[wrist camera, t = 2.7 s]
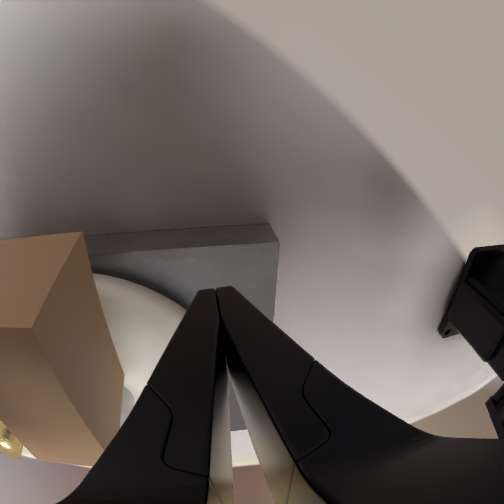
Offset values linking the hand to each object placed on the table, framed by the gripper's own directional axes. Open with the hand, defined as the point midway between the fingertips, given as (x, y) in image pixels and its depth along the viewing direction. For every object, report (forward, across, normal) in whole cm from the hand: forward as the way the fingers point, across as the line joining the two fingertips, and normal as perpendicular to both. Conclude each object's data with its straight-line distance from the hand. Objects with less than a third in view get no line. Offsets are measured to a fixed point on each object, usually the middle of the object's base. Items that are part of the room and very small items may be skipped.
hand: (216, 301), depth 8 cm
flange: (+3, +5, +5) cm, 8 cm away
